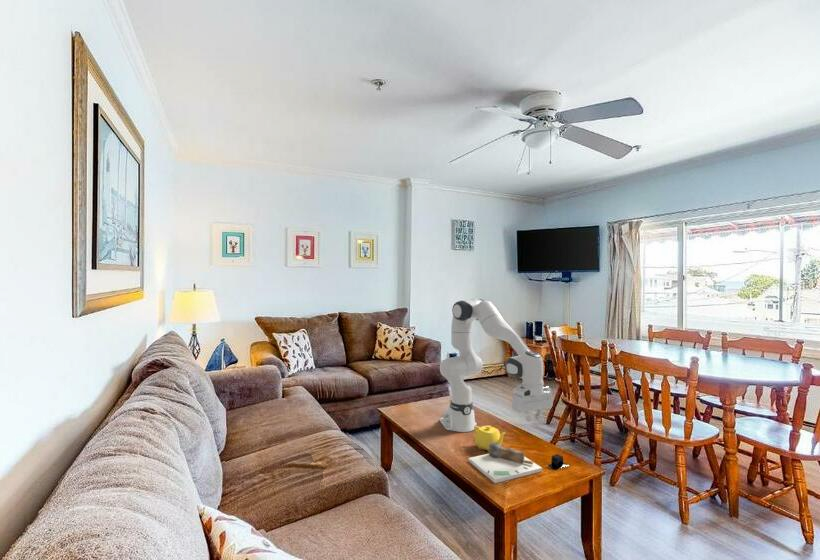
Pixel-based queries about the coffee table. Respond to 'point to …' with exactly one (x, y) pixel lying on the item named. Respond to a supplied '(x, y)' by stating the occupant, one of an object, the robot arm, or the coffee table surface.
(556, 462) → the black flanged block
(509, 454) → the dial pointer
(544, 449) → the coffee table surface
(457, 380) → the robot arm
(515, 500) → the coffee table surface
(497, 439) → the teapot
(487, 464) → the dial plate
